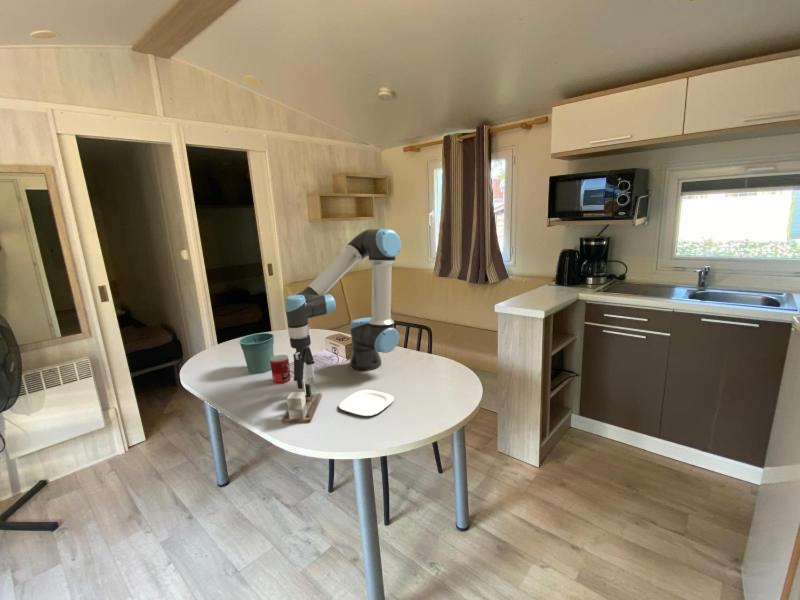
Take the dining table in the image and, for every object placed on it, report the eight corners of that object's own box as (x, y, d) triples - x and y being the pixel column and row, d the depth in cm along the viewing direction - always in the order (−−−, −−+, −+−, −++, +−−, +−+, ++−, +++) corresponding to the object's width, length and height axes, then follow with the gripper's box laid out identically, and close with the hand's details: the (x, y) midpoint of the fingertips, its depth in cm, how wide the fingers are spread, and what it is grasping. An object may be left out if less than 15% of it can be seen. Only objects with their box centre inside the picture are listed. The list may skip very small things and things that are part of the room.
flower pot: (264, 377, 175) (259, 344, 172) (236, 374, 181) (230, 342, 177) (285, 363, 191) (281, 333, 187) (258, 361, 196) (254, 332, 192)
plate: (371, 422, 132) (371, 418, 131) (333, 410, 141) (332, 406, 141) (399, 400, 146) (399, 396, 146) (362, 391, 156) (362, 387, 156)
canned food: (286, 384, 166) (282, 360, 164) (269, 383, 168) (266, 360, 166) (294, 377, 174) (291, 354, 171) (278, 376, 175) (275, 354, 173)
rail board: (322, 396, 153) (319, 375, 151) (310, 422, 133) (307, 398, 131) (297, 397, 153) (295, 376, 151) (282, 423, 134) (279, 399, 132)
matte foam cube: (302, 395, 152) (300, 377, 150) (315, 395, 152) (313, 376, 150) (299, 402, 146) (296, 383, 145) (311, 401, 146) (309, 382, 144)
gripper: (300, 346, 131) (308, 402, 136) (316, 325, 155) (322, 373, 160) (279, 348, 131) (288, 403, 136) (298, 326, 155) (305, 374, 160)
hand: (306, 387), depth 148 cm, fingers open, 13 cm apart
